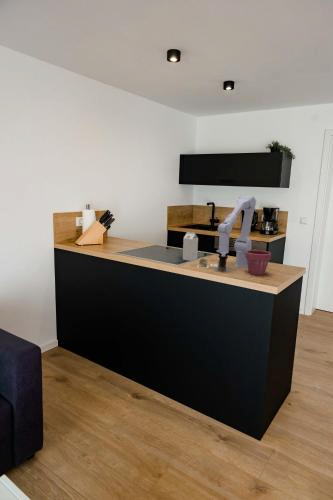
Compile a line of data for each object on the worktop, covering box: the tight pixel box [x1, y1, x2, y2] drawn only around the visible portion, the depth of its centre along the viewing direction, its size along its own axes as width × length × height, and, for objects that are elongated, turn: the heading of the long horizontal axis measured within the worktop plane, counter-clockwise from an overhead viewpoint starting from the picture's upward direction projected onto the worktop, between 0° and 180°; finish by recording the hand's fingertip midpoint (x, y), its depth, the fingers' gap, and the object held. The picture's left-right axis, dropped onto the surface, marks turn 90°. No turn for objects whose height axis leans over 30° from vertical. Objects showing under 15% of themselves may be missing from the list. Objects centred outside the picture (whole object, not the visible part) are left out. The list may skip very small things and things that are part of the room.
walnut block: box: [218, 259, 227, 270], centre depth 206 cm, size 4×4×5 cm
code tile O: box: [196, 264, 210, 269], centre depth 213 cm, size 7×7×1 cm
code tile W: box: [210, 263, 218, 268], centre depth 216 cm, size 7×7×1 cm
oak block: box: [198, 257, 208, 268], centre depth 212 cm, size 4×4×5 cm
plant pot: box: [245, 249, 272, 276], centre depth 200 cm, size 14×14×13 cm
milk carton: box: [182, 231, 199, 262], centre depth 230 cm, size 7×7×19 cm
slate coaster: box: [214, 267, 231, 273], centre depth 206 cm, size 9×9×1 cm
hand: (222, 265), depth 206 cm, fingers open, 7 cm apart
